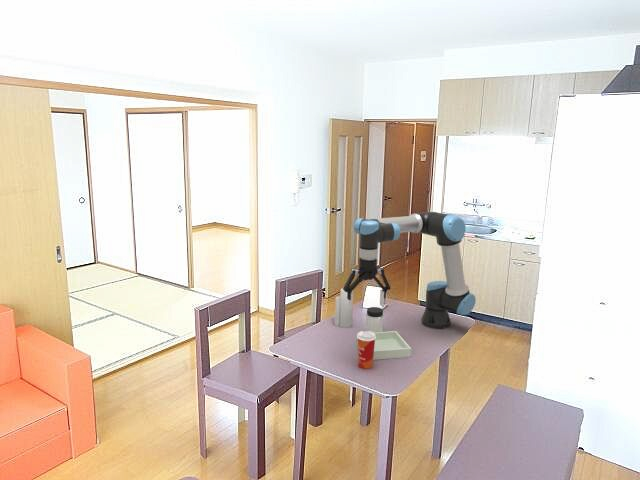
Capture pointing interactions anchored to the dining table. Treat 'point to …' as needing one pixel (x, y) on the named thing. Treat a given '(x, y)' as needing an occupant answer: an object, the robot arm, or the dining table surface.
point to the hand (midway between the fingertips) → (366, 306)
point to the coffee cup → (366, 349)
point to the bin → (390, 346)
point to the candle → (343, 311)
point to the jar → (374, 319)
